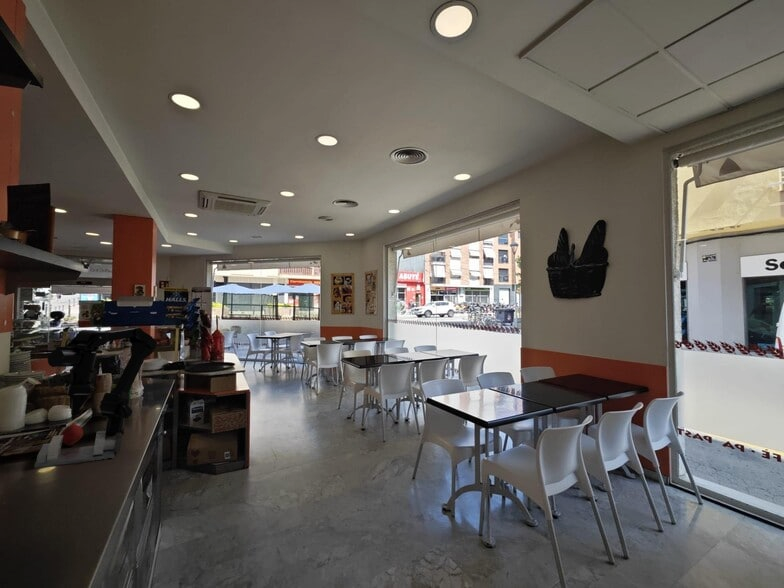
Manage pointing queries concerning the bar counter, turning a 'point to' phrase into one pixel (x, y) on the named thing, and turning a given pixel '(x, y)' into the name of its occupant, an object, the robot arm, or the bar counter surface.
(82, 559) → the bar counter surface
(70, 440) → the onion
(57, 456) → the vise base
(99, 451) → the sliding jaw
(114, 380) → the coffee jar
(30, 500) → the bar counter surface
